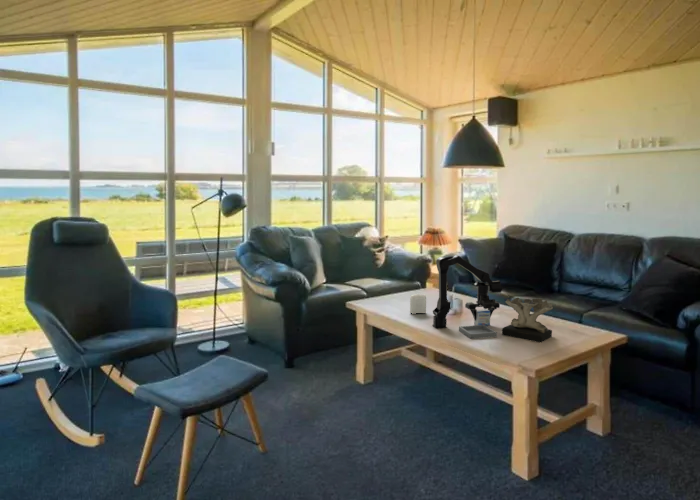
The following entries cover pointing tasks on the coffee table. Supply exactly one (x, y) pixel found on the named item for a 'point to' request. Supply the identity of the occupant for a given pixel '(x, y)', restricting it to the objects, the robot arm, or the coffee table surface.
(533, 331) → the coral
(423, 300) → the photo printer
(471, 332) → the tray
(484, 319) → the medicine box
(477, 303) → the robot arm
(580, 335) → the coffee table surface
